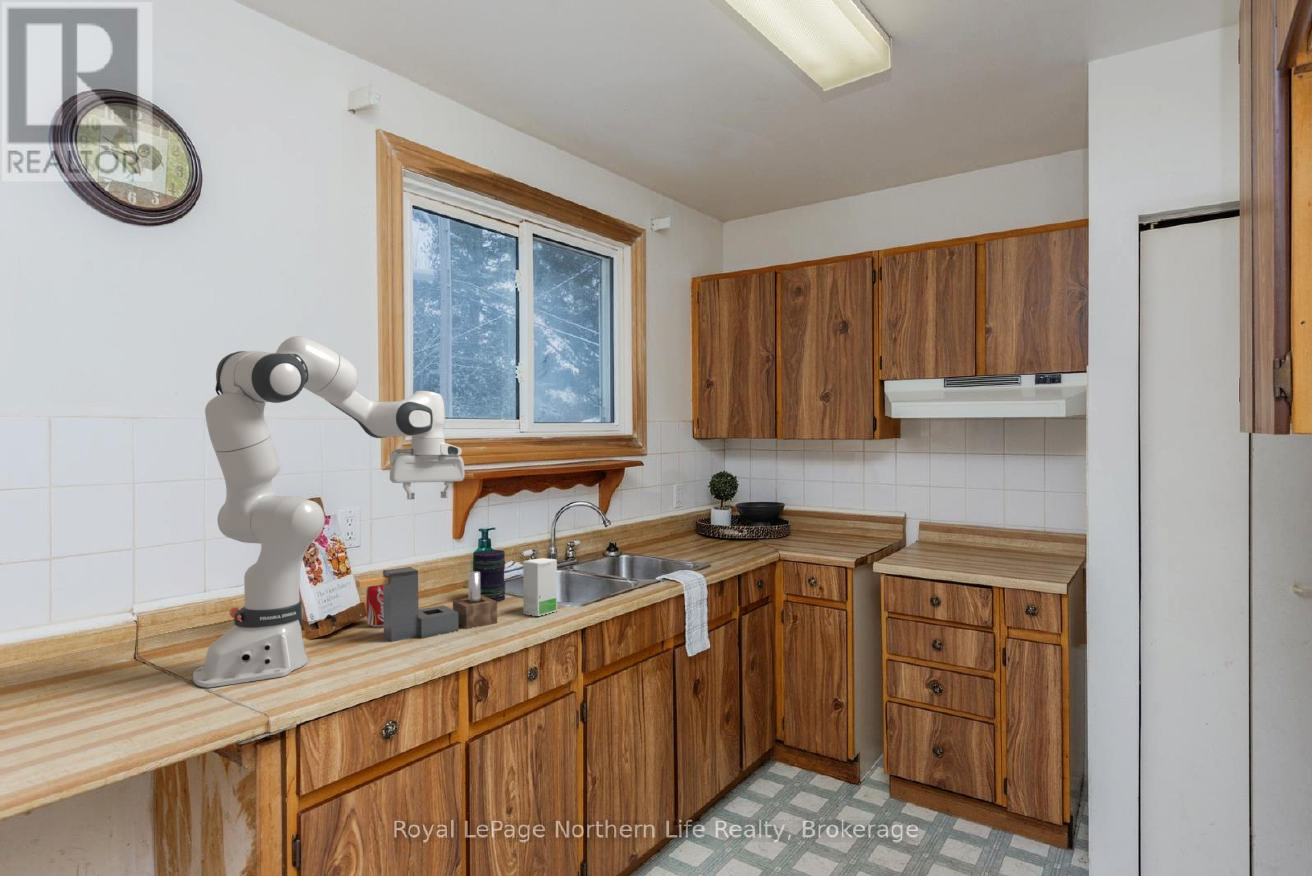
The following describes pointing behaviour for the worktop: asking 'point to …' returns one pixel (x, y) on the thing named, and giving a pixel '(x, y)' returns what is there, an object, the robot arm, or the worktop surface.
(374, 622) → the soda can
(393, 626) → the socket block
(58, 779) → the worktop surface
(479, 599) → the silver metal rod
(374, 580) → the bar
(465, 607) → the brown wooden square holder
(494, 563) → the storage jar
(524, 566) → the skincare box
